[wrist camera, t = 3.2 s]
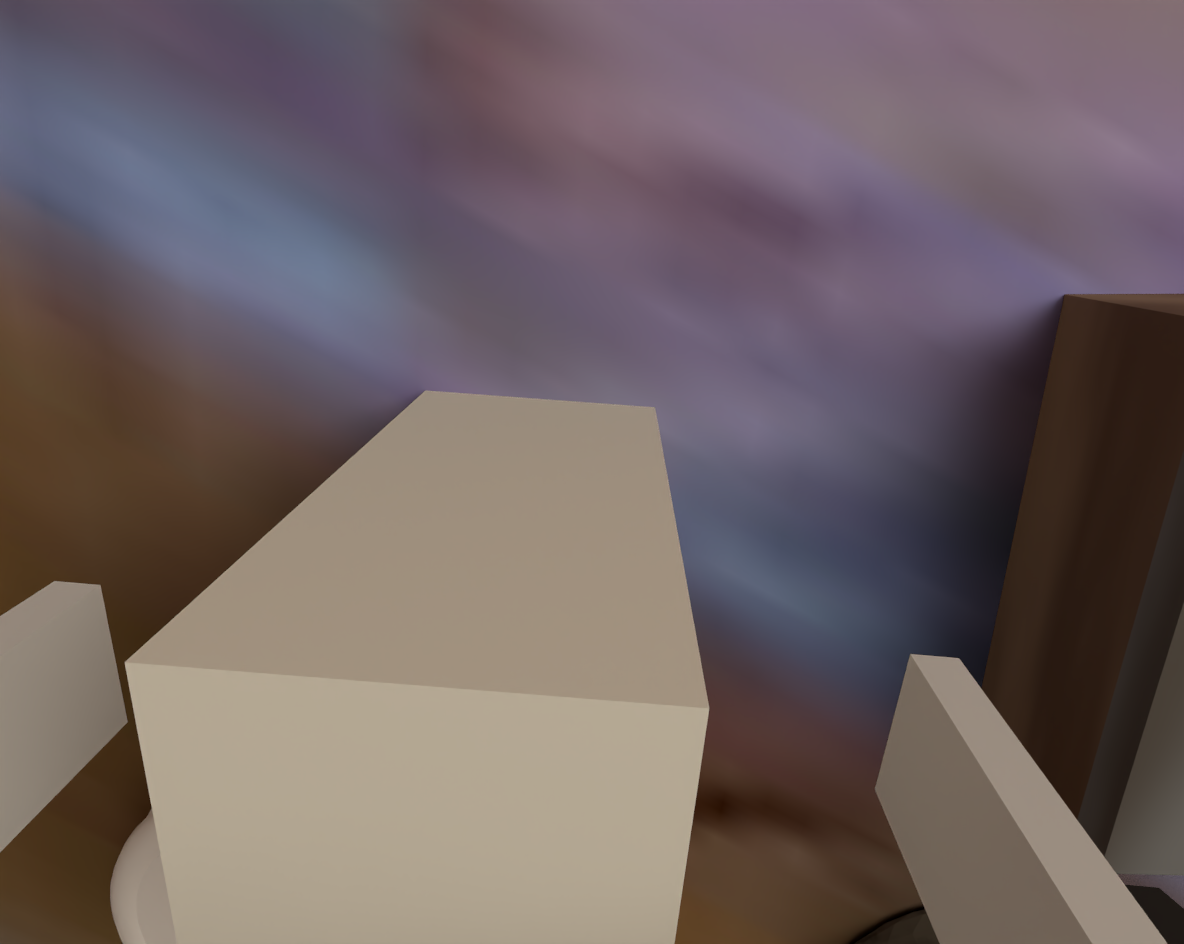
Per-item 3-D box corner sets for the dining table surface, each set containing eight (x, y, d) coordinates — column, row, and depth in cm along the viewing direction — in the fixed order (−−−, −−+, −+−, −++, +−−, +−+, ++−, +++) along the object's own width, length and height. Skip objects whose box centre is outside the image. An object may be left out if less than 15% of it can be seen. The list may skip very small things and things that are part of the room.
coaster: (244, 665, 22) (177, 744, 19) (517, 812, 24) (500, 909, 20) (127, 862, 25) (52, 961, 22) (377, 981, 27) (342, 1090, 23)
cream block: (428, 592, 21) (196, 1049, 9) (425, 390, 19) (124, 662, 7) (634, 608, 21) (653, 1088, 9) (654, 407, 18) (709, 708, 7)
